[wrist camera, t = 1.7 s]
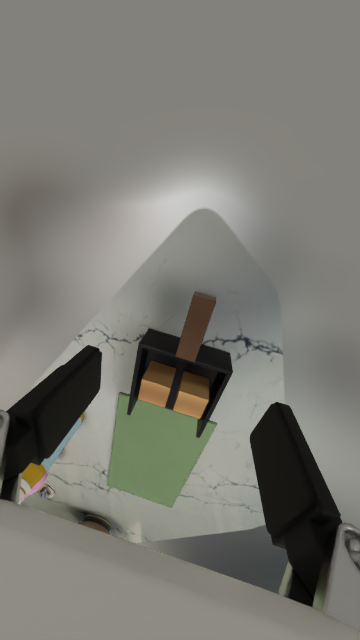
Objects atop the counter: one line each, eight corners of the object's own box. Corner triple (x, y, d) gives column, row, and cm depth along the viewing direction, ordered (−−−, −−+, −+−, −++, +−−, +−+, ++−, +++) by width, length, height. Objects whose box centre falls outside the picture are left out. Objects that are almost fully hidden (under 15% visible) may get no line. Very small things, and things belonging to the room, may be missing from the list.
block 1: (151, 360, 27) (141, 379, 24) (176, 368, 27) (170, 388, 23) (147, 379, 29) (137, 399, 25) (170, 386, 29) (164, 408, 25)
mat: (120, 391, 32) (119, 393, 32) (216, 422, 31) (216, 425, 31) (108, 483, 48) (107, 485, 48) (171, 505, 47) (171, 508, 47)
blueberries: (36, 490, 59) (30, 498, 57) (34, 479, 55) (29, 487, 53) (55, 498, 59) (50, 505, 57) (55, 487, 55) (50, 495, 53)
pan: (159, 273, 22) (147, 281, 18) (254, 301, 22) (263, 315, 18) (136, 394, 32) (125, 417, 28) (201, 415, 31) (199, 441, 27)
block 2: (183, 370, 27) (179, 391, 23) (209, 378, 27) (208, 400, 23) (177, 389, 29) (172, 410, 25) (201, 396, 29) (200, 419, 25)
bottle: (51, 411, 38) (-35, 506, 25) (56, 392, 35) (-40, 487, 22) (81, 426, 39) (11, 526, 25) (88, 408, 36) (13, 511, 22)
